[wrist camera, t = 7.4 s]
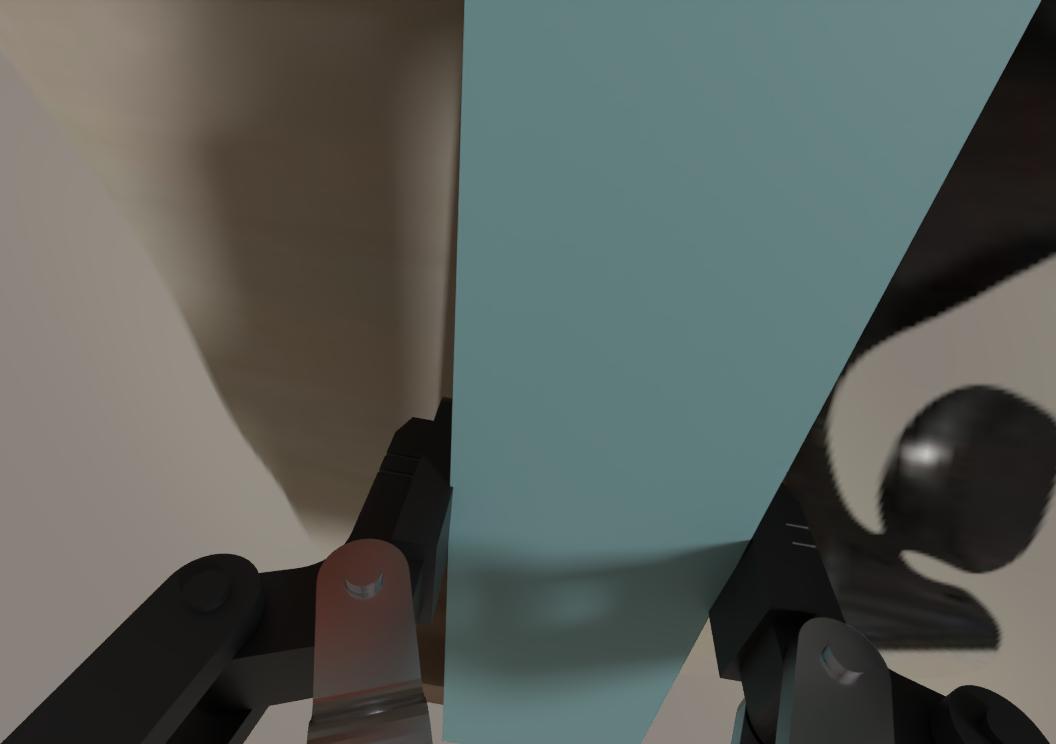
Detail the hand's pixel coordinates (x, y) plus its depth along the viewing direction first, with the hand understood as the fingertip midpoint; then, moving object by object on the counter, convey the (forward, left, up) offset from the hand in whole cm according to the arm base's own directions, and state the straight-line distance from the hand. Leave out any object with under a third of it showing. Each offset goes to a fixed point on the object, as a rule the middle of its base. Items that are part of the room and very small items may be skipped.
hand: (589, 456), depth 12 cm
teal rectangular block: (0, 0, -1) cm, 1 cm away
